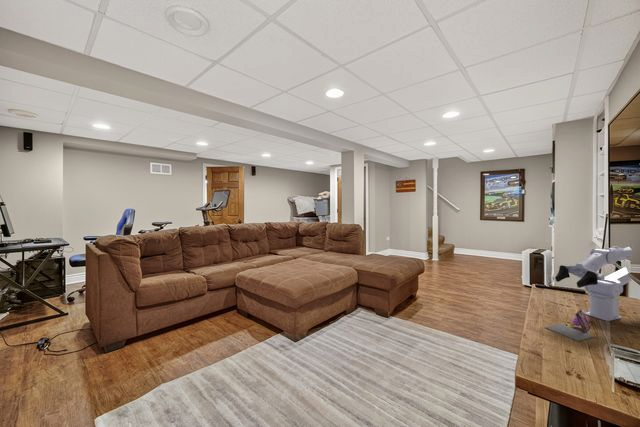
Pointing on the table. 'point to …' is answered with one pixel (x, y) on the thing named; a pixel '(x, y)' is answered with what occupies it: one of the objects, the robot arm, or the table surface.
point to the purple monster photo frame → (580, 320)
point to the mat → (570, 332)
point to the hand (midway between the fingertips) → (566, 282)
